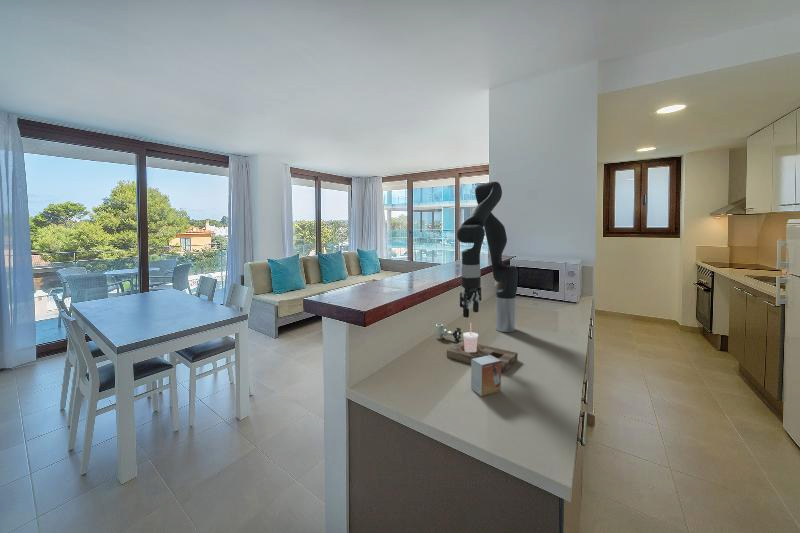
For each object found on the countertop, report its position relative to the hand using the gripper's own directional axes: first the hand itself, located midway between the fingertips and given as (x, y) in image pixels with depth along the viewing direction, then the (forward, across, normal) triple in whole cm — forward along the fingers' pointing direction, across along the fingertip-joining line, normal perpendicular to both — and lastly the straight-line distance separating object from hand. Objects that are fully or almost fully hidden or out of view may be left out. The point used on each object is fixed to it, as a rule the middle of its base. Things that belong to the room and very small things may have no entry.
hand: (471, 314), depth 129 cm
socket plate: (+18, 0, +5) cm, 18 cm away
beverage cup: (+18, 0, 0) cm, 18 cm away
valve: (+18, -11, -18) cm, 28 cm away
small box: (+18, +22, +17) cm, 33 cm away
